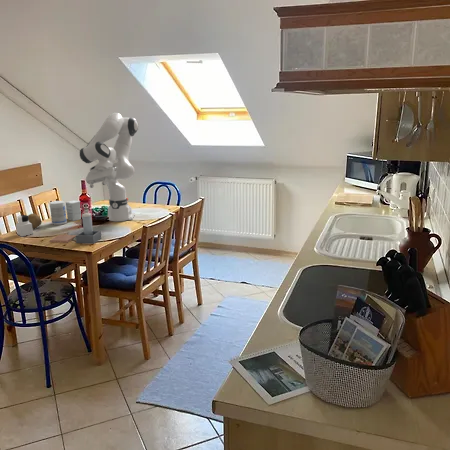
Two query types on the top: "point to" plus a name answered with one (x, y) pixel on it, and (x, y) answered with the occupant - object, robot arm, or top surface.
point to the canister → (87, 224)
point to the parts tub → (88, 237)
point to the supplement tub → (58, 212)
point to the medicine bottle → (24, 226)
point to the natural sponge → (34, 220)
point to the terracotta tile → (63, 238)
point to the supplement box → (73, 210)
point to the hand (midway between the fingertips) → (97, 185)
